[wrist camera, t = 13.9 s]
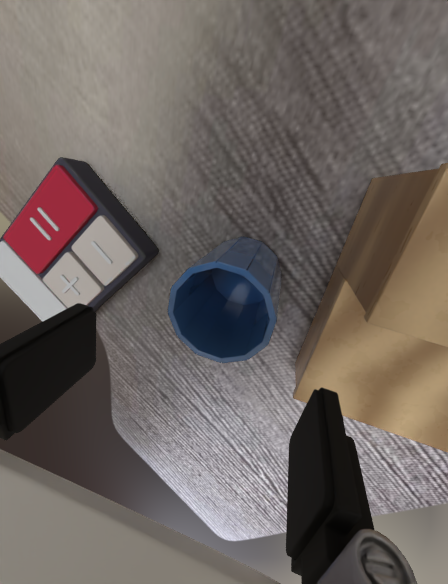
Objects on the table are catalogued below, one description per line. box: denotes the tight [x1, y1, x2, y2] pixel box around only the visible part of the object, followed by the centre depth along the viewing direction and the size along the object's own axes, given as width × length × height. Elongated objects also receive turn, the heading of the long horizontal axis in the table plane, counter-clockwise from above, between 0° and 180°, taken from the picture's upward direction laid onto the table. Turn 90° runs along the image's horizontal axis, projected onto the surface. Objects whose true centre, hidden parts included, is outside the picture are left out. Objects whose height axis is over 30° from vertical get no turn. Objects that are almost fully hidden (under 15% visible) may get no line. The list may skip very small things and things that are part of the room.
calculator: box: [0, 157, 158, 321], centre depth 27 cm, size 11×4×15 cm
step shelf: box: [293, 163, 448, 452], centre depth 18 cm, size 13×18×11 cm
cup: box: [168, 237, 282, 363], centre depth 21 cm, size 7×7×10 cm
